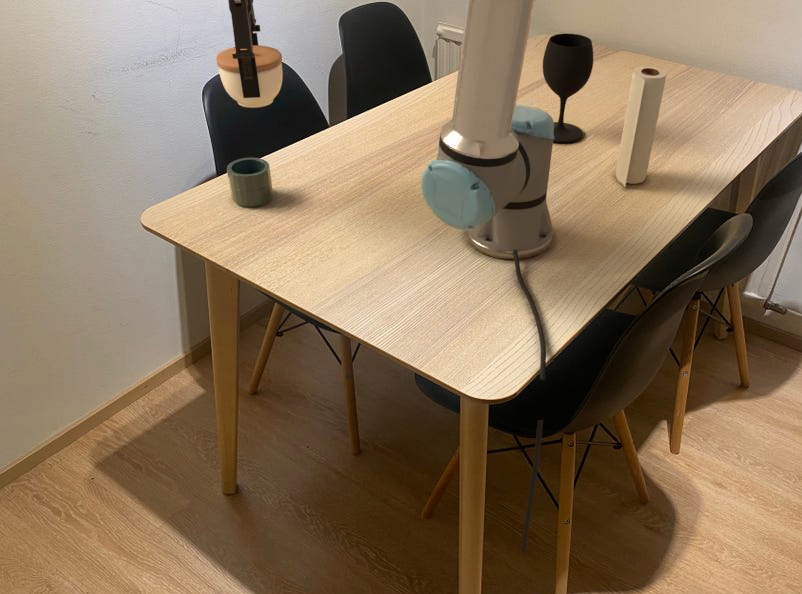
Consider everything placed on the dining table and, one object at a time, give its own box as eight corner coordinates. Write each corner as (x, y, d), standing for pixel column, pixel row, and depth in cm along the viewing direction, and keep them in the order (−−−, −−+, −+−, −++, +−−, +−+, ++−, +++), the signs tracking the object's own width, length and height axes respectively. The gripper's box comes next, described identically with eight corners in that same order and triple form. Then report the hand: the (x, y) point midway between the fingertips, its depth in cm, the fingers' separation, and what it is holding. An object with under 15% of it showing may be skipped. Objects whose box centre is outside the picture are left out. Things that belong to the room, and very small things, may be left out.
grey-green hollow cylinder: (273, 207, 143) (268, 175, 139) (231, 209, 142) (225, 177, 138) (273, 187, 149) (269, 156, 144) (233, 190, 147) (227, 158, 143)
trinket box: (225, 115, 128) (215, 58, 122) (222, 92, 136) (212, 37, 130) (290, 110, 130) (283, 54, 124) (283, 87, 138) (277, 33, 132)
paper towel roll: (631, 168, 158) (650, 63, 144) (651, 180, 154) (674, 73, 140) (604, 176, 155) (622, 69, 141) (624, 188, 151) (645, 80, 137)
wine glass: (528, 126, 173) (537, 34, 160) (571, 121, 175) (583, 30, 162) (546, 145, 165) (557, 50, 152) (590, 140, 168) (604, 46, 155)
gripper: (212, -76, 125) (233, 61, 139) (200, -41, 108) (226, 112, 122) (259, -77, 126) (275, 59, 140) (255, -42, 109) (274, 110, 123)
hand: (253, 84), depth 131 cm, fingers closed on trinket box, 11 cm apart
